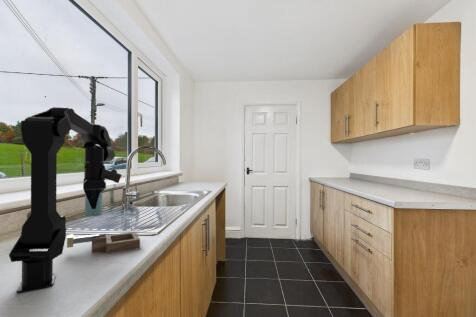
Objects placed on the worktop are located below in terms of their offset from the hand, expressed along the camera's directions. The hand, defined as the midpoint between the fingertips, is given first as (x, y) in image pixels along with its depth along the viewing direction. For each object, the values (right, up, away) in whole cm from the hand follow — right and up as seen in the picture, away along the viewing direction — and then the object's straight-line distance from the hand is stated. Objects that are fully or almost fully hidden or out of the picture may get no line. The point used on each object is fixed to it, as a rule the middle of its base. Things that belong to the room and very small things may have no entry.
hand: (93, 207), depth 86 cm
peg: (0, -3, 0) cm, 2 cm away
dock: (+9, -13, -2) cm, 16 cm away
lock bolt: (+1, -10, -7) cm, 12 cm away
